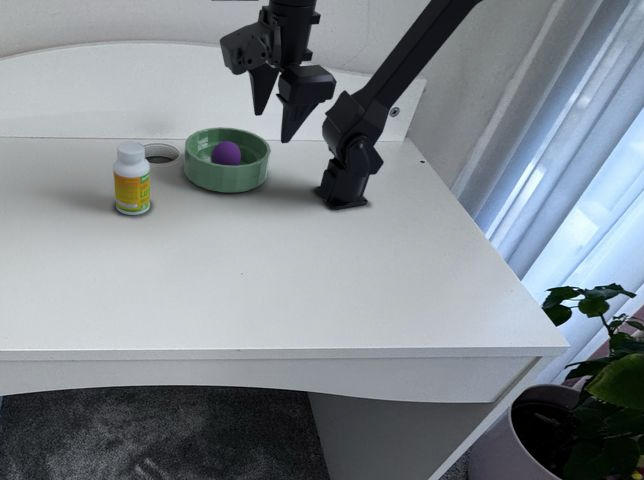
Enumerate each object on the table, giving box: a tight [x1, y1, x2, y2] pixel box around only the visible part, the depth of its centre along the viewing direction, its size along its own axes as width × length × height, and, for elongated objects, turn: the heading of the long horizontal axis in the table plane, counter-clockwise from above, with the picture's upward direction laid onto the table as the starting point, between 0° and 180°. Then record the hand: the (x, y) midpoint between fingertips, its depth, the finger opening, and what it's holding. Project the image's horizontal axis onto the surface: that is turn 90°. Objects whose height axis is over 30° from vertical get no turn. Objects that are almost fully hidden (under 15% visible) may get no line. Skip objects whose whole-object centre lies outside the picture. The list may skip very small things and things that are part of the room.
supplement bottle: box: [113, 140, 151, 216], centre depth 76 cm, size 5×5×10 cm
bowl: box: [183, 126, 272, 193], centre depth 85 cm, size 14×14×5 cm
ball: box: [211, 141, 241, 166], centre depth 85 cm, size 5×5×5 cm
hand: (270, 128), depth 73 cm, fingers open, 9 cm apart
